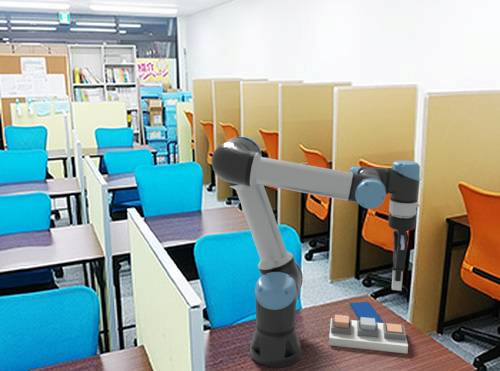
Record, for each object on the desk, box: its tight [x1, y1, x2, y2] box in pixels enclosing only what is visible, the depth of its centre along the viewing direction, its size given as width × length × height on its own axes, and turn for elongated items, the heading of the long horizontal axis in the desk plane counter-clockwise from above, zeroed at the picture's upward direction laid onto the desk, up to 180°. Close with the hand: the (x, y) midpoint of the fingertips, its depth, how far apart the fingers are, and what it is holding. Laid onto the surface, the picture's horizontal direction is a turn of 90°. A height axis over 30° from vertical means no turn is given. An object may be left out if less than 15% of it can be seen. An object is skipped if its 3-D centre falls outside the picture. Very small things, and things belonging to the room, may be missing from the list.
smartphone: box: [349, 301, 384, 323], centre depth 161 cm, size 7×1×15 cm
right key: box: [386, 322, 403, 334], centre depth 144 cm, size 4×4×2 cm
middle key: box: [360, 317, 376, 331], centre depth 145 cm, size 4×4×2 cm
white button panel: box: [328, 317, 409, 354], centre depth 146 cm, size 23×12×4 cm, turn 78°
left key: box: [334, 314, 350, 328], centre depth 147 cm, size 4×4×2 cm
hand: (396, 289), depth 140 cm, fingers closed
